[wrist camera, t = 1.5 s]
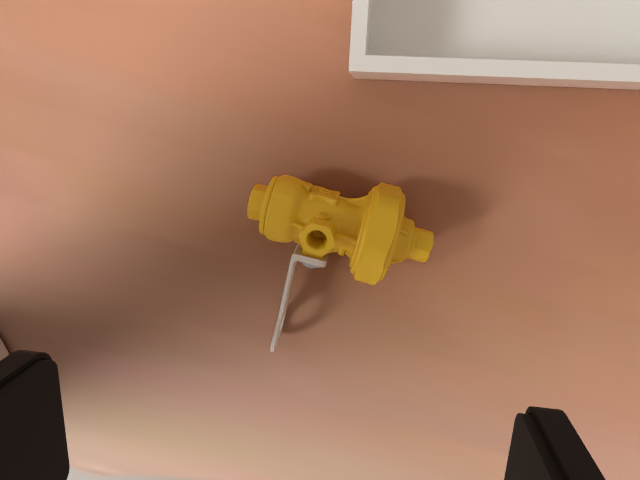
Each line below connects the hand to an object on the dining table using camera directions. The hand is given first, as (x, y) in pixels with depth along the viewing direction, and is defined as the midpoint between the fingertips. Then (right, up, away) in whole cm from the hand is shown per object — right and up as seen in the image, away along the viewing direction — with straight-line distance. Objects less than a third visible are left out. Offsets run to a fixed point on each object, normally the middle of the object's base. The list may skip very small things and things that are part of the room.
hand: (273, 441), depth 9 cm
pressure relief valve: (+2, +3, +20) cm, 20 cm away
